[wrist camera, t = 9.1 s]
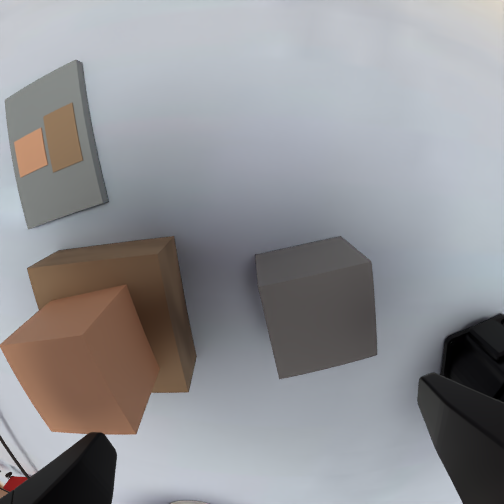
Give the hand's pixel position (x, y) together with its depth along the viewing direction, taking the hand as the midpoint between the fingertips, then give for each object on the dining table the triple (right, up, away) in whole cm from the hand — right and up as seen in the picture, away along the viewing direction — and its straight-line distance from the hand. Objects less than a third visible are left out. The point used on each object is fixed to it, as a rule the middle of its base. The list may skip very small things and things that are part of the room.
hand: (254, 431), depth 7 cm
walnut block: (-8, +1, +12) cm, 14 cm away
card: (-12, +11, +9) cm, 19 cm away
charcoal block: (+3, +3, +12) cm, 12 cm away
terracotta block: (-8, 0, +8) cm, 11 cm away
